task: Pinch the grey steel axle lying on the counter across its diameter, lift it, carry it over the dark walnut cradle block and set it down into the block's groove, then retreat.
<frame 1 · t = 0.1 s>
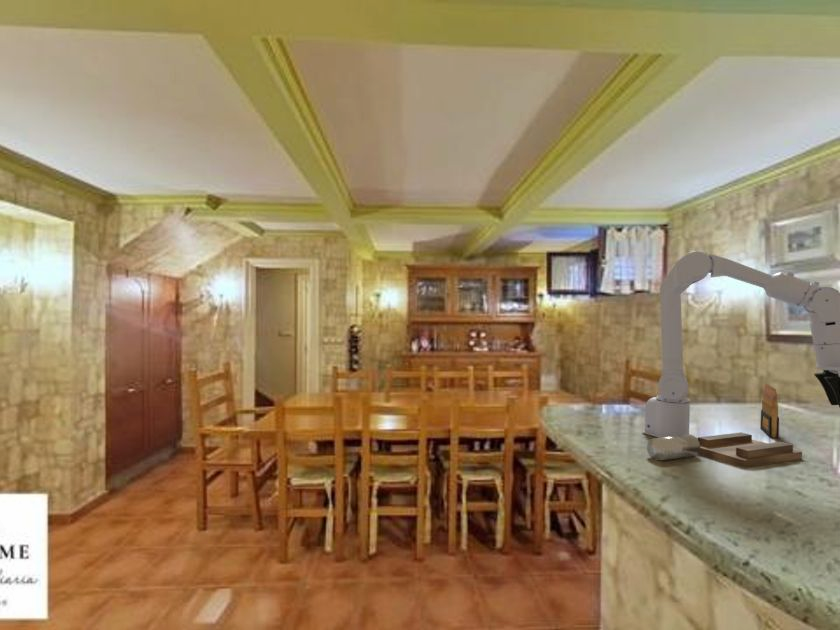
steel axle: (673, 447, 101), point 2 cm above the countertop
ammunition clip: (769, 434, 124), on the countertop
cradle block: (744, 455, 104), on the countertop
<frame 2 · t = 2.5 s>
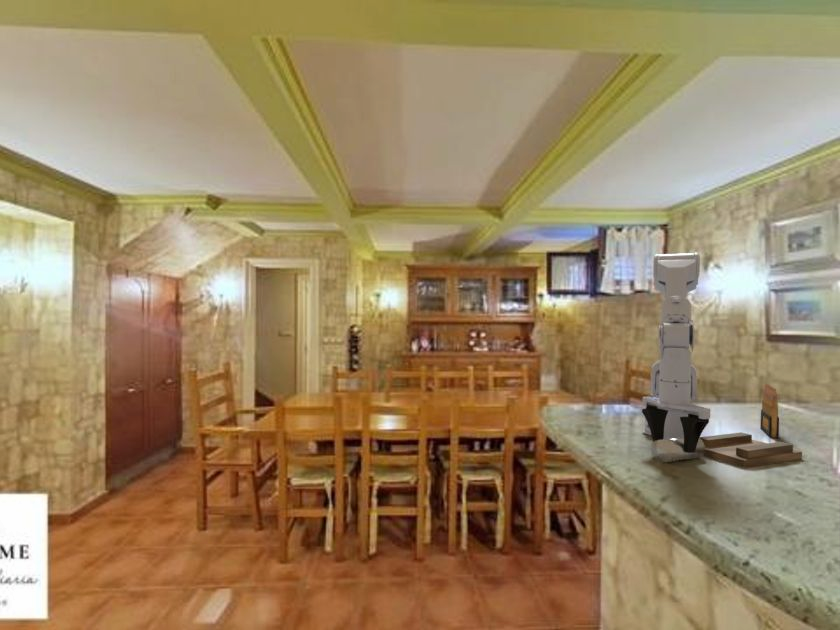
hand: (673, 447, 101), 2 cm above the countertop, tool pointing down, fingers open, 7 cm apart
steel axle: (678, 449, 100), point 2 cm above the countertop, tilted 90°
everything else where it was.
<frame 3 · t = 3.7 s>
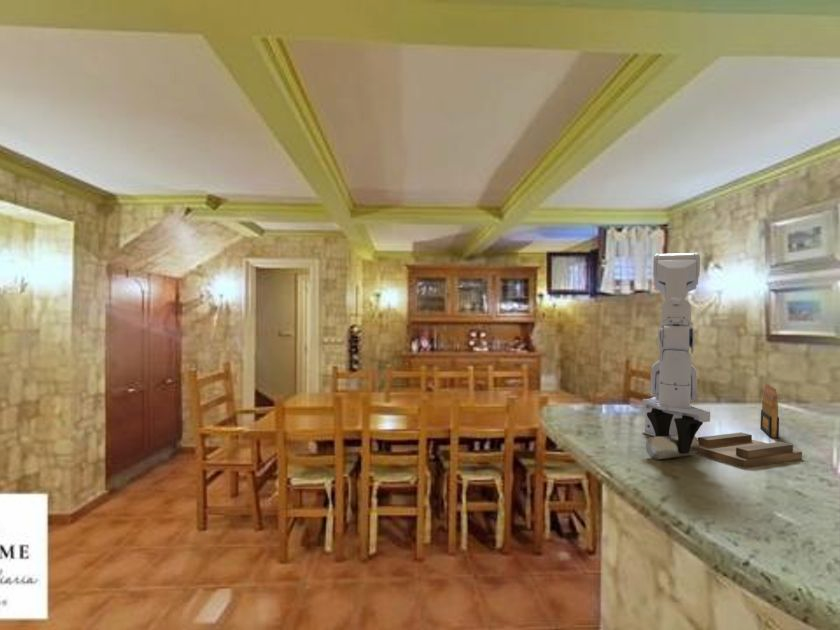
hand: (673, 449, 101), 2 cm above the countertop, tool pointing down, fingers closed on steel axle, 4 cm apart
steel axle: (672, 446, 101), point 2 cm above the countertop, tilted 54°, touching gripper
everything else where it was.
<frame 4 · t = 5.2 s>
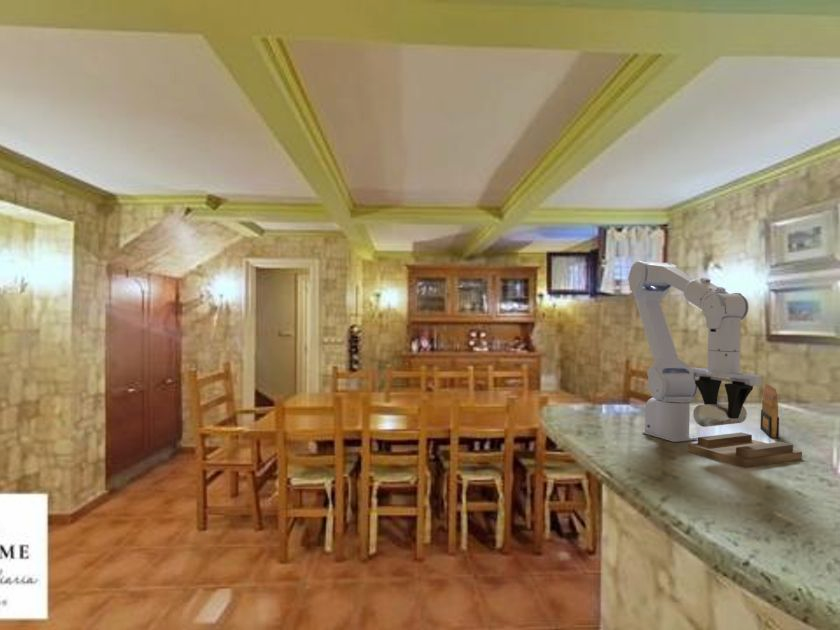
hand: (722, 415, 103), 8 cm above the countertop, tool pointing down, fingers closed on steel axle, 4 cm apart
steel axle: (719, 414, 102), point 9 cm above the countertop, tilted 50°, touching gripper
everything else where it was.
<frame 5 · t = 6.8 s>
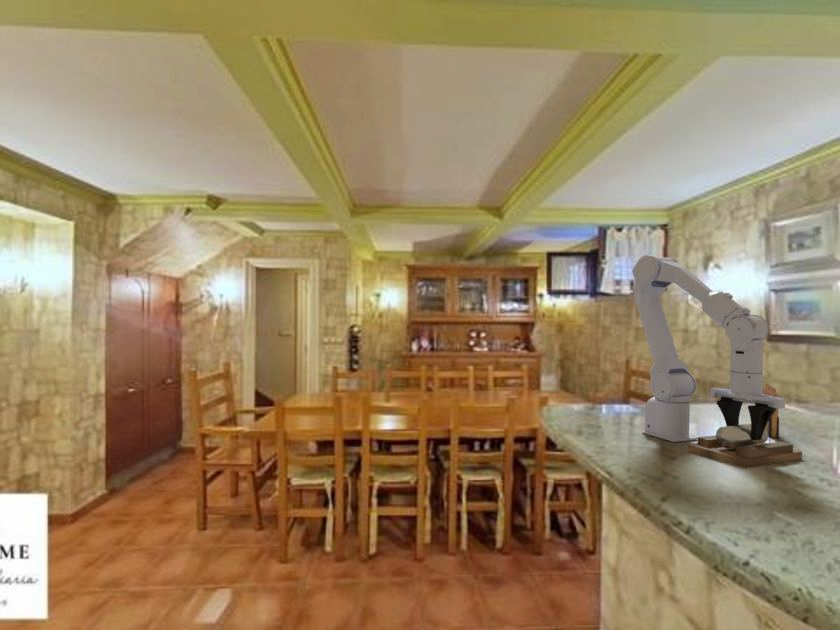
hand: (744, 436, 104), 4 cm above the countertop, tool pointing down, fingers closed on steel axle, 4 cm apart
steel axle: (742, 435, 103), point 4 cm above the countertop, tilted 50°, touching gripper
everything else where it was.
when the fingers open (4 cm above the countertop, at t = 7.3 s): steel axle moves 1 cm and tips over, resting on cradle block.
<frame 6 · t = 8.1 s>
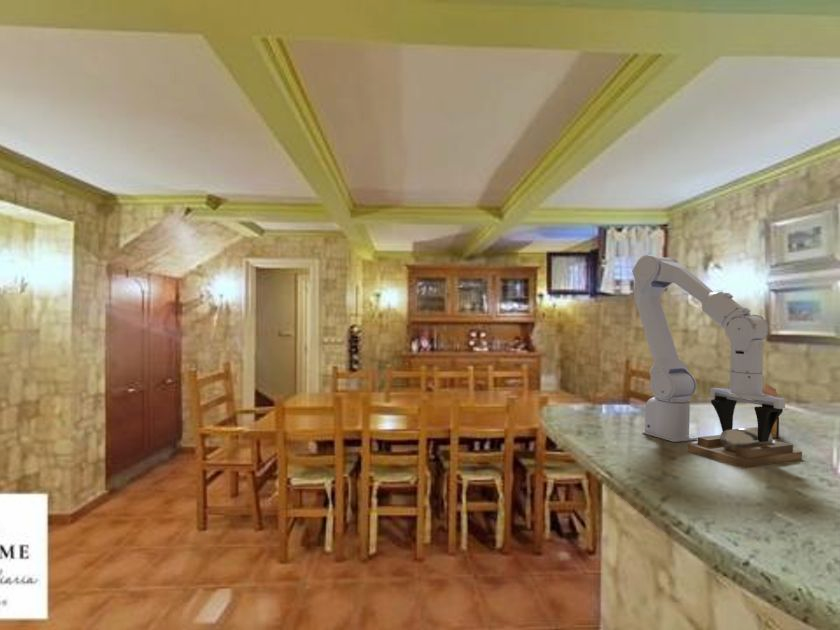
hand: (744, 436, 104), 4 cm above the countertop, tool pointing down, fingers open, 7 cm apart
steel axle: (746, 438, 102), point 4 cm above the countertop, tilted 73°, touching cradle block
everything else where it was.
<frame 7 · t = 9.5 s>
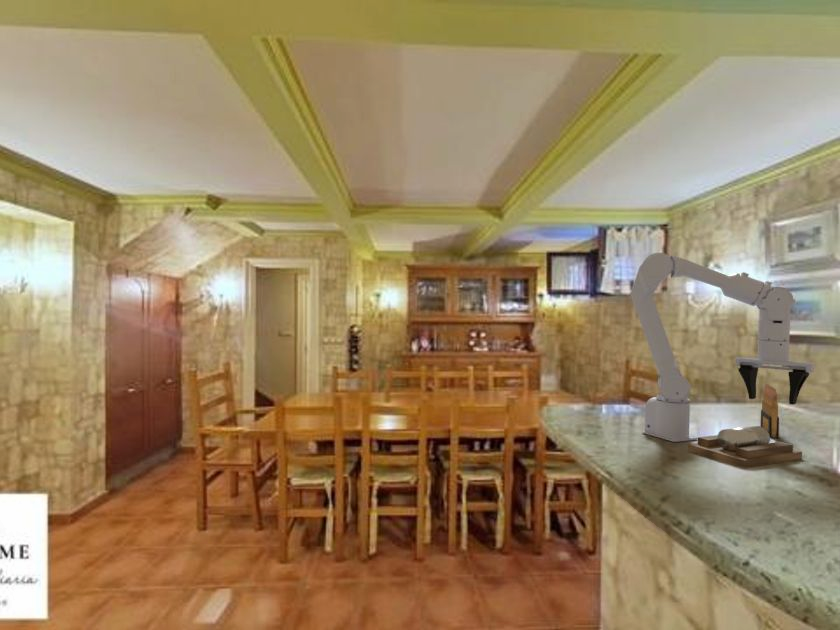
hand: (771, 401, 110), 10 cm above the countertop, tool pointing down, fingers open, 7 cm apart
steel axle: (743, 438, 103), point 4 cm above the countertop, tilted 59°, touching cradle block
everything else where it was.
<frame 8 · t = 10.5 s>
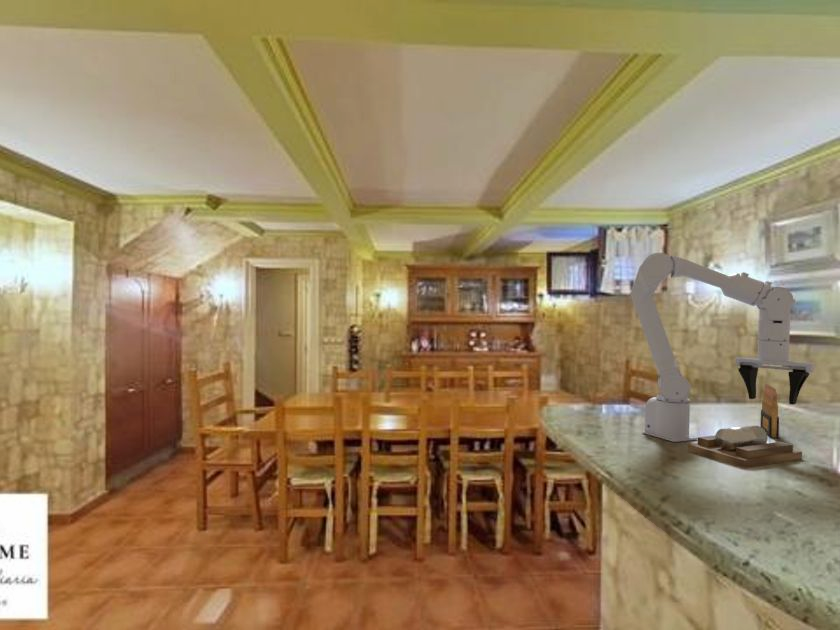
hand: (771, 401, 110), 10 cm above the countertop, tool pointing down, fingers open, 7 cm apart
steel axle: (741, 437, 103), point 4 cm above the countertop, tilted 47°, touching cradle block
everything else where it was.
at the end: steel axle 0.7 cm off-centre on the cradle block, point 3.7 cm above the cradle block's base; steel axle touching cradle block; the gripper is holding nothing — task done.
